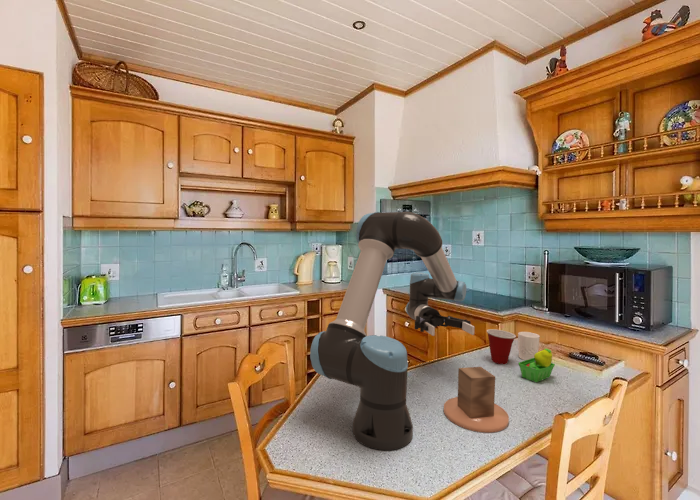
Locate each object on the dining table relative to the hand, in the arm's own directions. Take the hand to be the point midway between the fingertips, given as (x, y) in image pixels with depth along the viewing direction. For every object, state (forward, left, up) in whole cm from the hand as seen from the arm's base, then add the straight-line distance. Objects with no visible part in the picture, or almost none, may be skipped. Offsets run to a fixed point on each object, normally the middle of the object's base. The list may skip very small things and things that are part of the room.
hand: (453, 331), depth 109 cm
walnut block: (-1, -15, -18) cm, 24 cm away
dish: (0, -15, -20) cm, 25 cm away
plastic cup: (+32, +21, -20) cm, 43 cm away
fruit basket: (+36, +5, -20) cm, 41 cm away
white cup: (+46, +23, -20) cm, 55 cm away
